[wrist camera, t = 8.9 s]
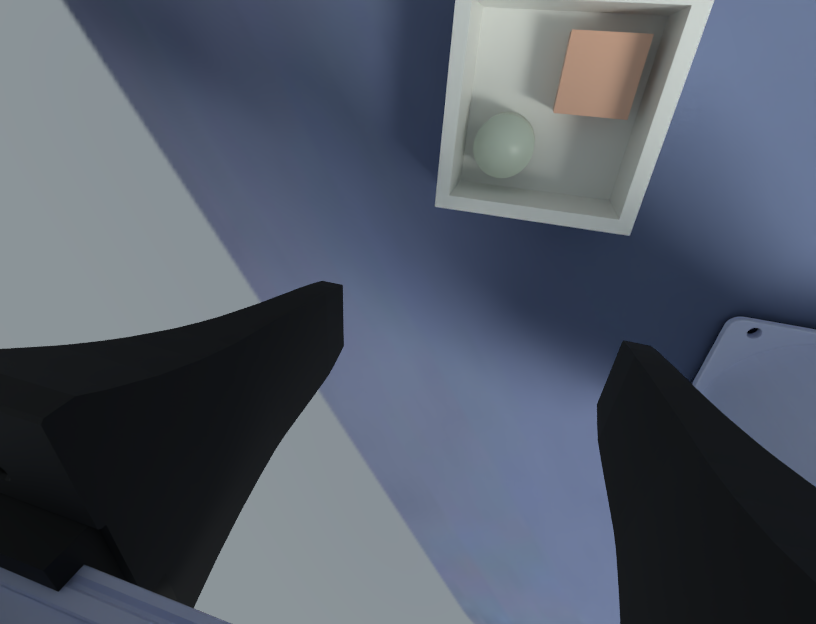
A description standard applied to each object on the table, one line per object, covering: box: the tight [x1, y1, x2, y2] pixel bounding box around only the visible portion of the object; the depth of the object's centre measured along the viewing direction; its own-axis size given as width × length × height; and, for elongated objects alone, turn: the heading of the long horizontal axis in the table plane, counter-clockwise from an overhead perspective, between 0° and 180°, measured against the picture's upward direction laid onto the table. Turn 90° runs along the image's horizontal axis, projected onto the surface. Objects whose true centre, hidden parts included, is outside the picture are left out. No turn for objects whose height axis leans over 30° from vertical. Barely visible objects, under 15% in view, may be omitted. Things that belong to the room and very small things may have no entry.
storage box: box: [435, 0, 714, 236], centre depth 15 cm, size 7×7×3 cm
